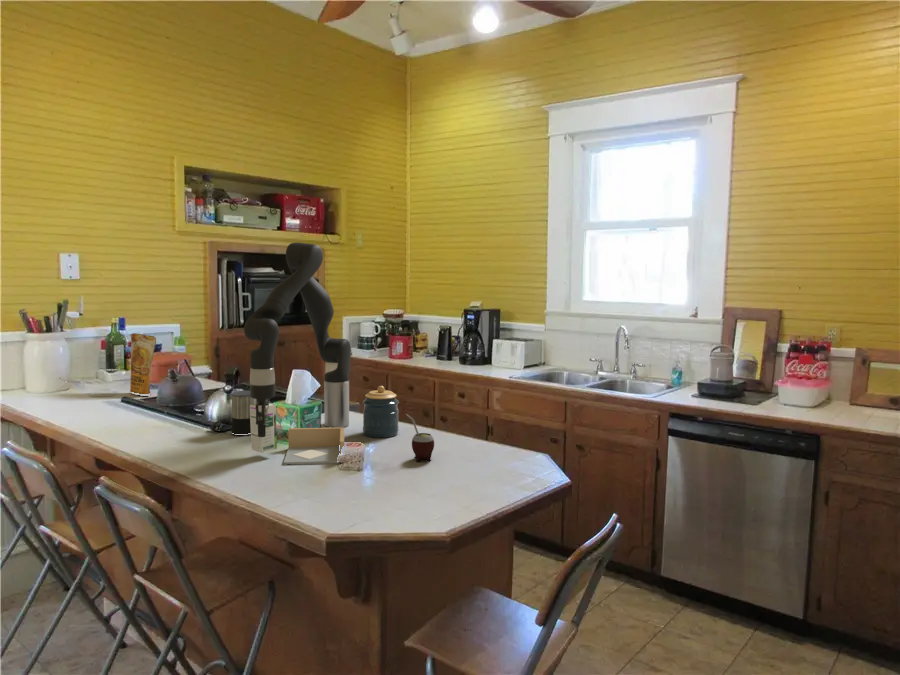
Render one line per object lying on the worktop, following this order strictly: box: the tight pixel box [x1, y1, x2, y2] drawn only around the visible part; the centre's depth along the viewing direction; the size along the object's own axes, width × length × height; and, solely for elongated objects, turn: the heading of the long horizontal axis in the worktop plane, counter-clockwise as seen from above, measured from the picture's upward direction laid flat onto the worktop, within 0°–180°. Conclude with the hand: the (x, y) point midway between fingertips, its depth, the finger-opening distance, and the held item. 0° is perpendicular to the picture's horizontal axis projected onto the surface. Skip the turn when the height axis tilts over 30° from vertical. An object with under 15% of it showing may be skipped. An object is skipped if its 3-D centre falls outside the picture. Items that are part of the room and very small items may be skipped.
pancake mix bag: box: [129, 332, 157, 394], centre depth 296 cm, size 7×19×28 cm, turn 51°
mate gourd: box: [405, 413, 435, 463], centre depth 201 cm, size 8×8×15 cm
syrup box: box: [250, 402, 278, 453], centre depth 201 cm, size 6×6×14 cm
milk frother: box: [210, 390, 257, 434], centre depth 231 cm, size 14×16×15 cm
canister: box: [362, 385, 400, 438], centre depth 233 cm, size 13×13×18 cm
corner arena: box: [283, 427, 345, 466], centre depth 204 cm, size 18×18×7 cm
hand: (263, 433), depth 201 cm, fingers closed on syrup box, 8 cm apart
